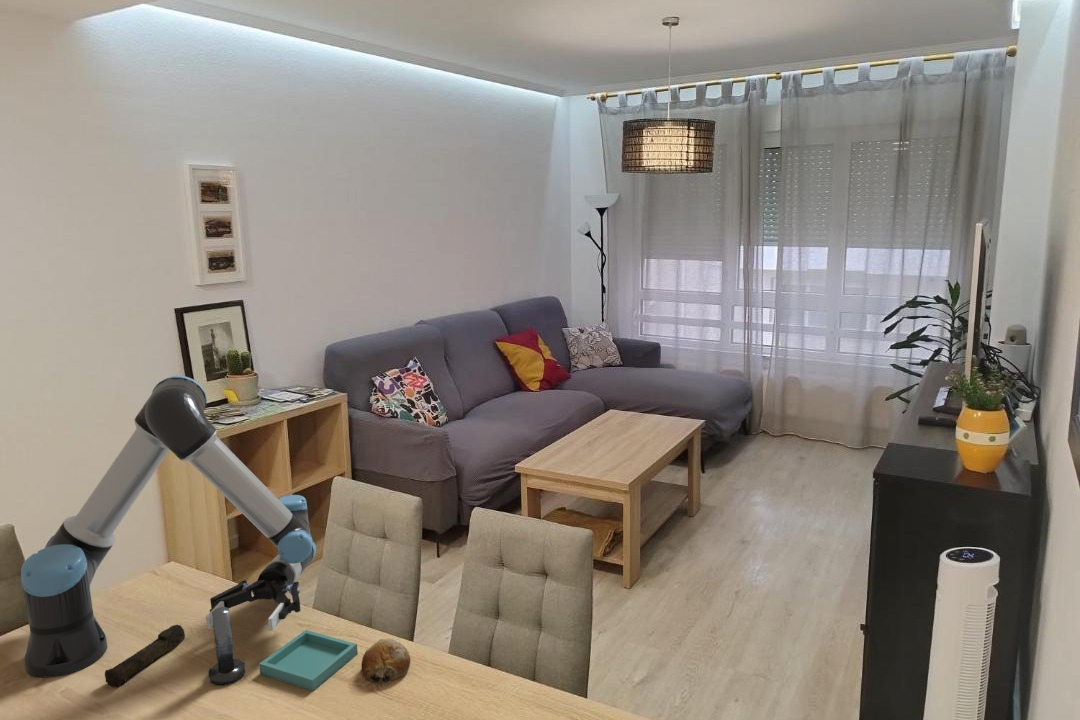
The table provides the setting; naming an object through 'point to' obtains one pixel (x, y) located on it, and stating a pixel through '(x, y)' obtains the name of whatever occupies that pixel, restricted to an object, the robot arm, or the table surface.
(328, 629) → the table surface
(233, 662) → the joystick
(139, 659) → the hand tool
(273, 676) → the tray
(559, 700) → the table surface
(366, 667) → the bread roll
